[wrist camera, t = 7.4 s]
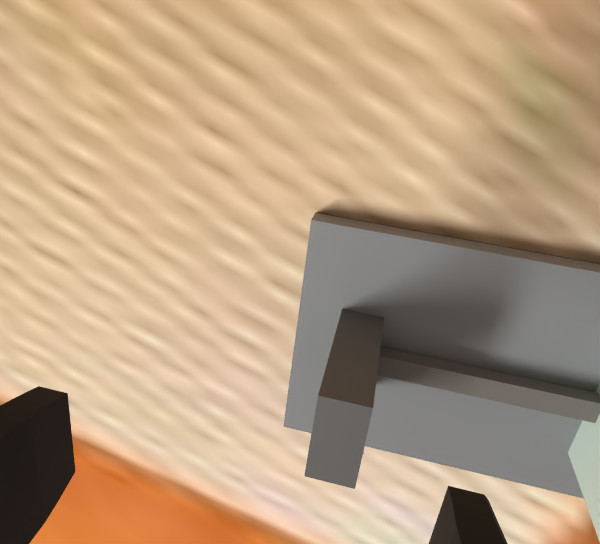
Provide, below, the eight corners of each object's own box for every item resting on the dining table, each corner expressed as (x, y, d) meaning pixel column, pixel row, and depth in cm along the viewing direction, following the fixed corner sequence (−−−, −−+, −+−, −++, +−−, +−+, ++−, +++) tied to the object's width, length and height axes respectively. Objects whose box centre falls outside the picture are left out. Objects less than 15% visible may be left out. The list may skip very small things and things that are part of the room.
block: (715, 486, 18) (811, 631, 14) (326, 397, 20) (300, 500, 16) (790, 371, 16) (931, 499, 12) (346, 283, 18) (322, 365, 14)
